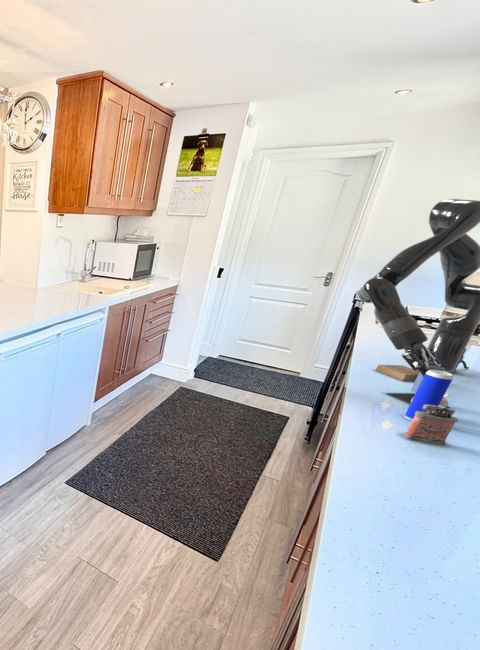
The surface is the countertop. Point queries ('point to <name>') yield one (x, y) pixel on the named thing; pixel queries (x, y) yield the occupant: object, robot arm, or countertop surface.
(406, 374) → the platform
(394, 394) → the mat
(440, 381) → the beverage can
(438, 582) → the countertop surface
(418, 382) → the post
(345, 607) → the countertop surface
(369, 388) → the countertop surface
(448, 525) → the countertop surface
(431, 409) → the lighter
